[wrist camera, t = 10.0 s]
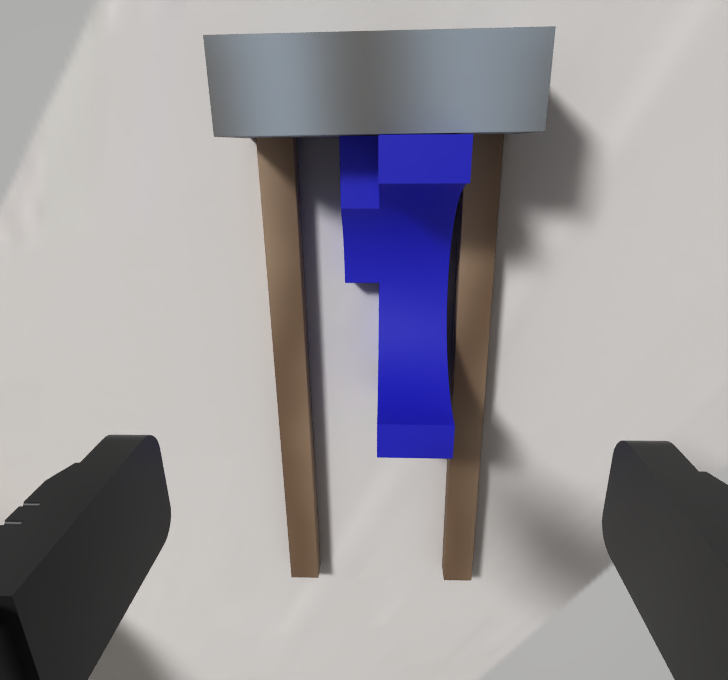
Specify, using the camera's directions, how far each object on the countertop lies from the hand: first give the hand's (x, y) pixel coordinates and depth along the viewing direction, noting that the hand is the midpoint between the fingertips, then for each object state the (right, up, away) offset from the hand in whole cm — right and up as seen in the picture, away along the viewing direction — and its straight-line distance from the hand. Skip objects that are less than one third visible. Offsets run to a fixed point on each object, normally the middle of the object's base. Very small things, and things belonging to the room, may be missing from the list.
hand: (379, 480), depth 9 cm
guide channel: (+1, +2, +16) cm, 16 cm away
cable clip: (+1, +6, +15) cm, 16 cm away
